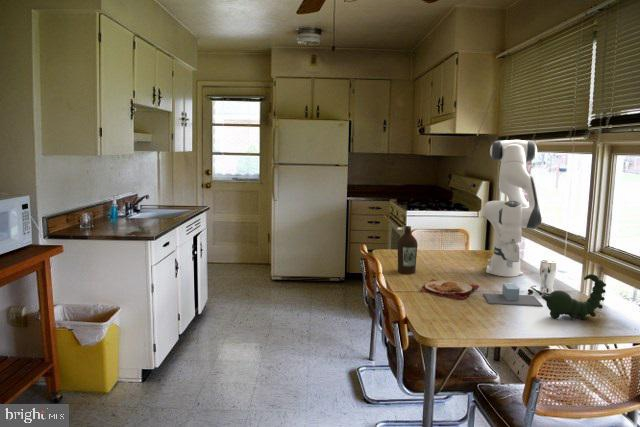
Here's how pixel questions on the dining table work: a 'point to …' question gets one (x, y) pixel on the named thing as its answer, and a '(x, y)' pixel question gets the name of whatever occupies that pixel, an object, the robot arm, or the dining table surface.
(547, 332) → the dining table surface
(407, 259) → the brown bottle
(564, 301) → the toy figurine
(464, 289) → the plate with food
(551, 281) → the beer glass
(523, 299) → the charcoal mat
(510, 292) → the slate block
